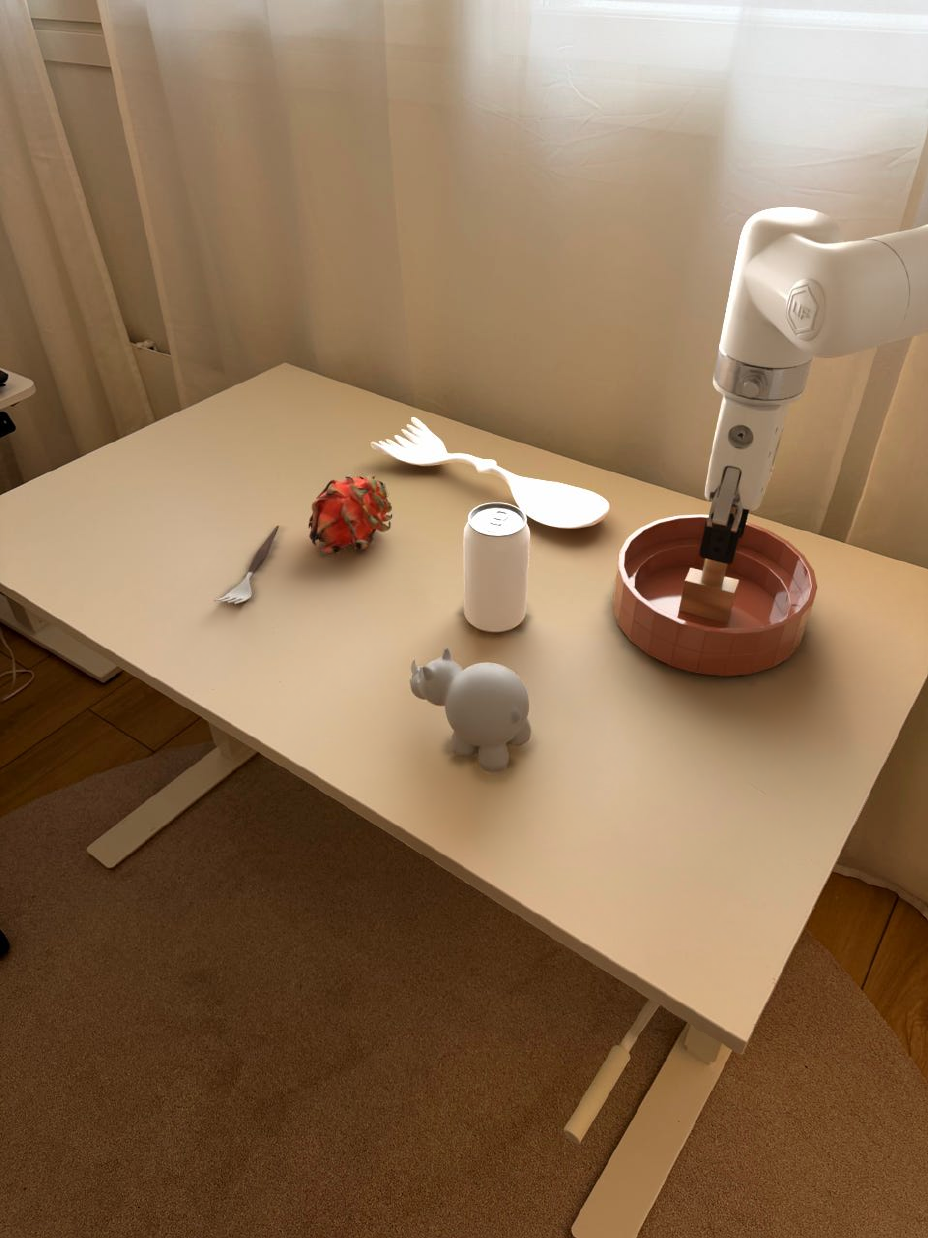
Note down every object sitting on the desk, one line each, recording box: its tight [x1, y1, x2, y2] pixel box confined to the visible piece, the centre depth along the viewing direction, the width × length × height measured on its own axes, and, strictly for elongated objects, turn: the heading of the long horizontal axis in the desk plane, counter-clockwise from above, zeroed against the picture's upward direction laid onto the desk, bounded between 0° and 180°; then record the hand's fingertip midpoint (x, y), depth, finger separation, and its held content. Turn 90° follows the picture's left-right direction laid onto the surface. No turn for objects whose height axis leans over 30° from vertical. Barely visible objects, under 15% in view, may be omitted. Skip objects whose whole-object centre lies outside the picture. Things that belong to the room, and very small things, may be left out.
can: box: [462, 502, 531, 634], centre depth 89 cm, size 6×6×12 cm
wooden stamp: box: [679, 494, 740, 623], centre depth 88 cm, size 5×2×14 cm, turn 65°
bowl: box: [612, 513, 818, 677], centre depth 91 cm, size 19×19×6 cm
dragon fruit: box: [308, 473, 393, 554], centre depth 101 cm, size 8×8×12 cm
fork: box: [213, 525, 280, 605], centre depth 98 cm, size 3×16×2 cm, turn 169°
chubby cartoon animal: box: [409, 646, 532, 773], centre depth 78 cm, size 7×12×8 cm, turn 51°
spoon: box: [370, 416, 610, 529], centre depth 110 cm, size 9×32×4 cm, turn 53°
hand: (721, 544), depth 87 cm, fingers open, 3 cm apart
